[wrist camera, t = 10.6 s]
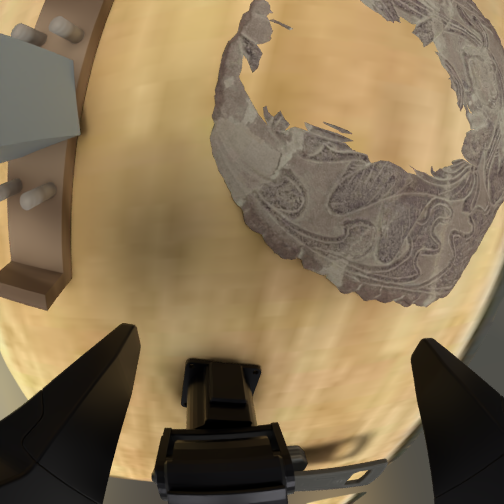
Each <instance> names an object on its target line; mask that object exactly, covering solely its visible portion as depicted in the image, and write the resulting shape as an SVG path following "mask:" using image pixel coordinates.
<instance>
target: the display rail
mask: <svg viewBox="0 0 504 504" xmlns="http://www.w3.org/2000/svg"><path fill="white" fill-rule="evenodd" d="M113 1H114V0H45V3H44V5H43V8H42V10H41V13H40V15H39V18H38V20H37V23H36V26H35V29H33V28H31V27H29V26H27V25H24V24H22V23H20V24H17V25H16V26H15V27H14V29H13V30H12V33H11V37H13V38H16V39H19V40H22V41H25V42H27V43H30V44H33V45H36V46H38V47H41V48H44V49H46V50H49V51H51V52H54V53H56V54H59V55H61V56H64V57H66V58H69V59H71V60H73V66H74V81H75V92H76V102H77V111H78V119H79V125H80V119H81V113H82V108H83V103H84V98H85V93H86V89H87V84H88V80H89V76H90V72H91V68H92V64H93V61H94V57H95V54H96V50H97V47H98V44H99V40H100V37H101V34H102V31H103V28H104V25H105V22H106V20H107V17H108V14H109V11H110V9H111V6H112V4H113ZM77 138H78V136H75V137H72V138H70V139H67V140H64V141H61V142H58V143H56V144H53V145H50V146H48V147H45V148H43V149H40V150H38V151H35V152H33V153H30V154H28V155H26V156H23V157H21V158H17V159H13V160H10V161H8V182H6V183H3V184H1V185H0V201H2V200H4V199H6V198H7V207H8V230H9V243H10V253H11V262H10V263H9V264H7V265H6V266H5V267H4V268H3V269H2V270H1V271H0V297H3V298H6V299H9V300H12V301H15V302H19V303H22V304H25V305H29V306H32V307H36V308H39V309H43V310H46V311H48V309H49V308H50V306H51V305H52V304H53V302H54V301H55V300H56V298H57V297H58V296H59V294H60V293H61V292H62V290H63V289H64V288H65V286H66V285H67V284H68V282H69V281H70V280H71V279H72V271H71V200H72V184H73V172H74V162H75V153H76V145H77Z"/></svg>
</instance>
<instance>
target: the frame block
mask: <svg viewBox="0 0 504 504" xmlns="http://www.w3.org/2000/svg"><path fill="white" fill-rule="evenodd" d="M78 135H81V133H80V126H79V119H78V111H77V102H76V92H75V81H74V66H73V60H71V59H69V58H66V57H64V56H61V55H59V54H56V53H54V52H51V51H49V50H46V49H44V48H41V47H38V46H36V45H33V44H30V43H27V42H25V41H22V40H19V39H16V38H13V37H10V36H7V35H4V34H1V33H0V163H2V162H6V161H10V160H13V159H17V158H21V157H23V156H26V155H28V154H30V153H33V152H35V151H38V150H40V149H43V148H45V147H48V146H50V145H53V144H56V143H58V142H61V141H64V140H67V139H70V138H72V137H75V136H78Z"/></svg>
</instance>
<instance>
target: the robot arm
mask: <svg viewBox="0 0 504 504" xmlns="http://www.w3.org/2000/svg"><path fill="white" fill-rule="evenodd" d="M140 348H141V345H140V340H139V336H138V331H137V327H136V326H135V325H133V324H127V323H122V324H121V325H119V326H118V327H117V328H116V329H114V330H113V331H112V332H111V333H109V334H108V335H107V336H106V337H104V338H103V339H102V340H101V341H99V342H98V343H97V344H96V345H95V346H93V347H92V348H91V349H90V350H88V351H87V352H86V353H85V354H83V355H82V356H81V357H80V358H79V359H77V360H76V361H75V362H74V363H73V364H71V365H70V366H69V367H68V368H67V369H65V370H64V371H63V372H62V373H61V374H59V375H58V376H57V377H56V378H55V379H53V380H52V381H51V382H50V383H49V384H47V385H46V386H45V387H44V388H43V389H42V390H40V391H39V392H38V393H37V394H35V395H34V396H33V397H32V398H31V399H29V400H28V401H27V402H26V403H24V404H23V405H22V406H21V407H19V408H18V409H17V410H15V411H14V412H12V413H11V414H10V415H8V416H7V417H5V418H4V419H2V420H1V421H0V504H103V499H104V495H105V491H106V486H107V482H108V478H109V474H110V470H111V466H112V462H113V458H114V454H115V451H116V447H117V443H118V439H119V436H120V432H121V429H122V425H123V422H124V418H125V415H126V412H127V408H128V405H129V402H130V398H131V395H132V390H133V385H134V380H135V374H136V369H137V364H138V359H139V354H140ZM190 364H193V365H190ZM411 365H412V371H413V377H414V384H415V391H416V397H417V402H418V407H419V411H420V416H421V420H422V425H423V430H424V435H425V440H426V445H427V450H428V457H429V463H430V469H431V476H432V484H433V492H434V503H435V504H504V397H503V396H500V394H499V393H498V392H497V391H496V390H495V389H493V388H492V387H491V386H490V385H489V384H488V383H487V382H485V381H484V380H483V379H482V378H481V377H479V376H478V375H477V374H476V373H475V372H473V371H472V370H471V369H470V368H469V367H468V366H466V365H465V364H464V363H463V362H461V361H460V360H459V359H458V358H457V357H455V356H454V355H453V354H452V353H451V352H449V351H448V350H447V349H446V348H444V347H443V346H442V345H441V344H439V343H438V342H437V341H436V340H434V339H433V338H424V339H422V340H421V341H420V342H419V344H418V346H417V347H416V349H415V350H414V352H413V354H412V356H411ZM260 375H261V368H260V367H259V366H257V365H244V364H233V363H222V362H213V361H204V360H196V359H189V360H187V361H186V366H185V374H184V382H183V391H182V399H181V405H182V406H183V407H187V426H186V429H172V428H165V429H164V433H163V436H161V441H160V445H159V450H158V454H157V459H156V464H155V468H154V470H153V472H152V481H153V482H154V483H155V484H156V485H157V487H158V490H159V494H160V496H161V498H162V500H164V501H168V504H288V499H287V495H288V494H293V493H294V491H295V475H294V469H293V464H292V460H291V456H290V454H289V451H288V448H287V446H286V443H285V440H284V438H283V435H282V432H281V429H280V427H279V424H278V422H275V423H271V424H267V425H258V426H257V421H256V415H255V410H254V404H253V398H252V396H253V394H254V391H255V388H256V386H257V383H258V380H259V377H260Z"/></svg>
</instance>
